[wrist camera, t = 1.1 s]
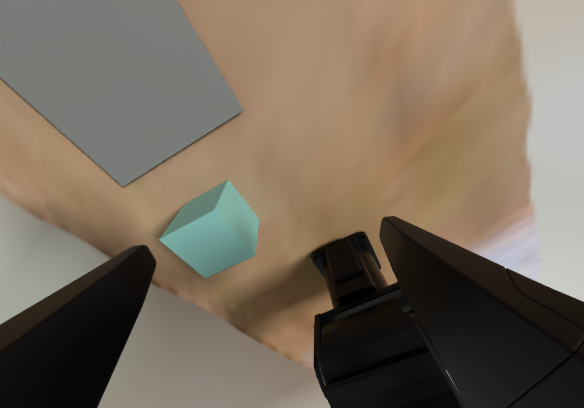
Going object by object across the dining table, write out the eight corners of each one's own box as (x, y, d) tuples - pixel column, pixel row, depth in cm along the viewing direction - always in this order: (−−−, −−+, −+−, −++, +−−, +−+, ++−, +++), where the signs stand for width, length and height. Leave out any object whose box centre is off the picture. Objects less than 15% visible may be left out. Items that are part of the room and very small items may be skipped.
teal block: (259, 219, 21) (255, 255, 17) (218, 239, 22) (205, 278, 18) (228, 179, 18) (214, 209, 14) (184, 204, 19) (158, 239, 15)
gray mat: (243, 109, 16) (242, 110, 15) (127, 183, 18) (122, 186, 17) (92, -136, 10) (82, -148, 9) (-52, 21, 12) (-66, 18, 12)
